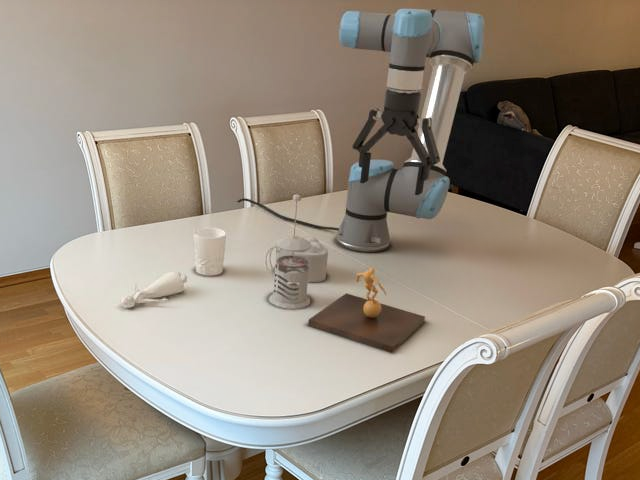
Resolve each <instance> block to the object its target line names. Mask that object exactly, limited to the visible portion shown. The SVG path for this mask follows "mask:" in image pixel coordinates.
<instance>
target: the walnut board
mask: <svg viewBox="0 0 640 480" xmlns="http://www.w3.org/2000/svg"><path fill="white" fill-rule="evenodd" d="M367 301H368V298H364V297H360V296H357V295H353V294H351V293H345V294H343V295H342V296H340V297H339V298H337V299H336V300H334V301H333V302H331V303H329V304H328V305H327V306H326V307H325V308H323V309H322V310H320V311H319V312H317V313H316V314H314V315H313V316H311V317H310V318H309V319H308V324H307V326H309V327H311V328H315V329H317V330H320V331H324V332H326V333H330V334H333V335H337V336H339V337H342V338H346V339H349V340H351V341H355V342H358V343H361V344H364V345H367V346H370V347H372V348H376V349H380V350H383V351H385V352H388V353H393V352H394V351H396V349H398V348H399V347H400V346H401V345H402V344H403V343H404V342H405V341H406V340H408V339H409V337H410V336H412V335H413V333H415V332H416V331H417V330H418V329H419V328H420V327H422V325H423V324H424V323H425V321H426V316H425V315H421V314H418V313H415V312H411V311H409V310H405V309H402V308H398V307H395V306H391V305H389V304H384V303H380V302H379V303H380V305H381V313H380V314H379V315H378V316H377V317H374V318H370V317H368V316H366V315H365V313H364V311H363V307H364V304H365V303H366V302H367Z"/></svg>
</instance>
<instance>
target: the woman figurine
mask: <svg viewBox="0 0 640 480" xmlns="http://www.w3.org/2000/svg"><path fill="white" fill-rule="evenodd" d="M181 276H182V275H181V272H178V273H176V272H175V271H174V272H173V271H170V272H167V273H165V274H164V275H162V276H161V277H159V278H157V279H156V280H155V281H153V282H152V283H151V284H149V285H148V286H146V287H145V288H144V289H143V290H140V289H137V288H138V287H137V286H138V283H135V284H134V288H133V291H132V293H131V295H127V296H123V297H121V299H120V305H121V306H122V307H123V308H124V309H132V308H133V307H134V306H135V304H143V303H155V302H156V303H160V302H164V303H168V302H169V301H170V300H169V298H166V297H168V296H173V295H176V294H180V293H182V292H184V289H185V288H184V287H185V286H184V285H185V284H186V283H187V282H188V276H187V275H185V274H184V277H183V279H182V278H181ZM162 297H163V298H162ZM155 298H162V299H155Z"/></svg>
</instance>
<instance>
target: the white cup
mask: <svg viewBox="0 0 640 480" xmlns="http://www.w3.org/2000/svg"><path fill="white" fill-rule="evenodd" d="M192 234H193V253H194V254H193V255H194V262H195V263H194V264H195V272H196V273H197V274H199V275H202V276H208V277H212V276H218V275H221V274H222V273H223V271H224V261H225V251H226V236H227V232H226V231H225V230H223V229H221V228H218V227H200V228H197V229H195V230H193V233H192Z"/></svg>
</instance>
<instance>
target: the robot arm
mask: <svg viewBox="0 0 640 480" xmlns="http://www.w3.org/2000/svg"><path fill="white" fill-rule="evenodd" d="M338 36H339V42H340V44H341V45H342V46H343V47H345V48H348V49H349V48H350V49H353V50H366V51H368V50H369V51H376V52H383V53H385V52H386V53H390V56H389V63H388V72H387V79H386V87H387V88H388V89H386V90H385V94H384V102H383V110H380V109H379V108H377V107H375V108H373V109H369V113H368V117H367V121H366V122H365V124H364V125H363V127H362V128H361V131H360V132H359V134H358V136H356V137H357V138H356V139H355V140H354V142H353V144H352V149H353V150H355V151H357V152H359V153H358V154H359V158H358V161H357V162H355V163H353V164H352V165H351V167H350V171H349V177H348V179H347V181H348V184H347V195H346V196H347V197H346V202H345V203H346V205H345V213H344V217H343V219H342V221H341V224H340V226H339V227H334V226H325V225H324V226H323V225H318V224H313V223H310V222H307V221H303V220H299V219H296V224H297V223H298V224H301V225H304V226H308V227H311V228H315V229H321V230H329V231H337V232H336V237H335V238H336V239H335V242H336V243H337V244H338V245H339V246H341V247H342V248H345V249H347V250H349V251H355V252H361V253H363V252H364V253H378V252H382V251H386V250H388V248H389V247H390V243H391V238H390V232H389V231H390V230H389V226H388V221H387V217H388V213H390V214H397V215H402V216H407V217H413V218H416V219H423V220H424V219H425V220H434V219H435V218H436V217H437V216H438V215H439V213H440V212H441V211H442V208H443V206H444V204H445V202H446V199H447V196H448V192H449V188H450V183H451V180H450V178H449V177H448V176H447V169H446V168H445V166H444V164H443V163H444V159H445V156H446V151H447V147H448V143H449V140H450V136H451V132H452V127H453V123H454V119H455V115H456V112H457V109H458V103H459V99H460V95H461V91H462V87H463V83H464V80H465V76H466V75H468V74H469V73H470V72H472V71H473V67H474V64H478V63H480V62H481V61H482V58H483V52H484V43H485V42H484V41H485V19H484V17H483V16H482V15H481V14H479V13H474V12H469V11H456V10H442V9H433V8H419V9H417V8H399V9H398V10H397V11H396V12H395V13H381V12H380V13H379V12H367V11H360V10H356V11H353V10H348V11H346V12H344V14H343V15H342V17H341V19H340V23H339V32H338ZM427 58H429V59H428V64H429V66H430V67H431V68H432V70H431V73H430V74H431V75H430V78H429V82H428V87H427V91H426V95H425V99H424V103H423V108H422V112H421V116H419V110H420V103H421V97H422V93H421V92H420V91H421V90H422V89H423V82H424V76H425V68H426V61H427ZM380 118H381V120H382V122H383V125H382V126H381V127H380V128H379V129H378V130H377V131H376V132H375V133H374V134H373V135H372V136H371V137H370V138H369V139H368V140H367V138H368V136H369V135H370V133H371V131H372V129H373V128H374V126H375V125H376V123H377V121H379V120H380ZM417 125H418V128H417V129H416V126H417ZM387 133H389V135H396V136H400V137H406V139H407V140H409V142H410V144H411V145H412V147H413V148H412V151H411V156H410V157H409V158H408V159H406V160H405V161H404V162H403V165H402V169H398V168H395V164H394V163H395V162H393V161H392V160H388V159H371V158H372V152H369V151H370V150H371V149H372V147H374V146H375V145H376V144H377V143H378V142H379V141H380V140H381V139H382V138H383V137H384V136H385V135H387ZM366 140H367V141H366ZM365 141H366V142H365ZM236 202H237V203H242V202H248V203H251V204H253V205H256V206H258V207H261V208H263V209H264V210H266V211H268V212H269V213H271V214H273V215H274V216H277V217H279V218H281V219H283V220H285V221H289V222H293V223H295V218H292V217H287V216H285V215H283V214H280V213H278V212H276V211H275V210H273V209H271V208H269V207H267V206H266V205H264V204H262V203H259V202H257V201H255V200H252V199H249V198H247V197H246V198H245V197H244V198H243V197H242V198H240V199H238V200H237V201H236Z"/></svg>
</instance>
